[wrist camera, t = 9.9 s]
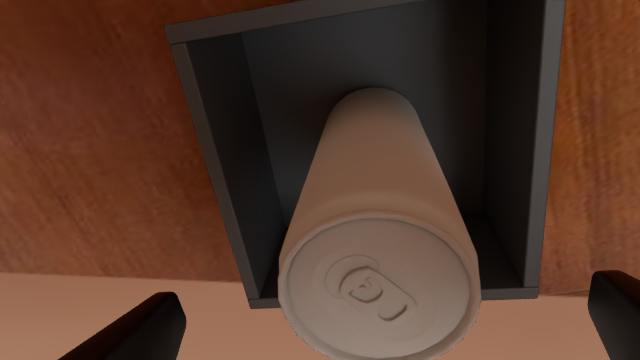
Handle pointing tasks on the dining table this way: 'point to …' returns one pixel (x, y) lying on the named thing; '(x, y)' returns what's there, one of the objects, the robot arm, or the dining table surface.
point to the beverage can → (378, 241)
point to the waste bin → (391, 73)
